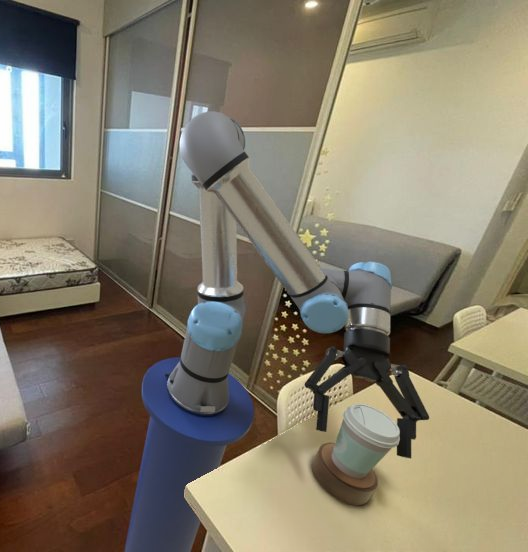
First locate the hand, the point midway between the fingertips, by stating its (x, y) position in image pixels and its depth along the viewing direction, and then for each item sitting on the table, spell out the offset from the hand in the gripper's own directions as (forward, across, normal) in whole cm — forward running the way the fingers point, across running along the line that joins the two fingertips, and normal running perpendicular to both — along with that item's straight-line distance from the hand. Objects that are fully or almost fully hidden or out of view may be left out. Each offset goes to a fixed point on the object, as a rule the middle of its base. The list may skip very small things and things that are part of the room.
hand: (361, 443), depth 59 cm
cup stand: (+7, 0, -8) cm, 11 cm away
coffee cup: (+4, 0, -5) cm, 7 cm away
